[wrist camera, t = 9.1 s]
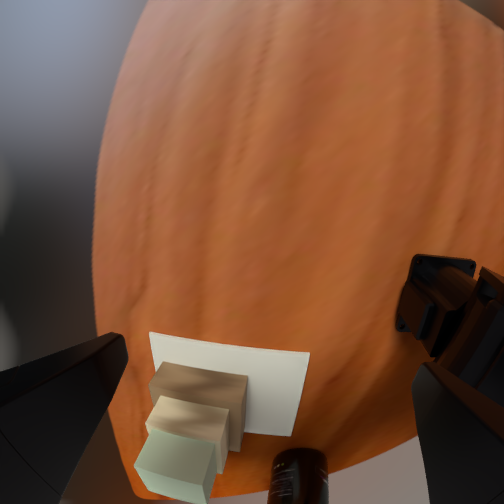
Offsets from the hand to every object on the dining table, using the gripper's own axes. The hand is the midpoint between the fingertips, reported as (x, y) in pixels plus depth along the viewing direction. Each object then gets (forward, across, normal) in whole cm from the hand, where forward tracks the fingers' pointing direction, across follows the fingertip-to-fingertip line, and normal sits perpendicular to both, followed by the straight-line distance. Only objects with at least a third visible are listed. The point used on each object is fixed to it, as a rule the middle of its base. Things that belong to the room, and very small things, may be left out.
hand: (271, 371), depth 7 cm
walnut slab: (+13, +6, +16) cm, 21 cm away
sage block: (+6, +6, +16) cm, 18 cm away
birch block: (+9, +6, +16) cm, 19 cm away
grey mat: (+13, +4, +15) cm, 20 cm away
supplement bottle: (+13, -5, +27) cm, 30 cm away
